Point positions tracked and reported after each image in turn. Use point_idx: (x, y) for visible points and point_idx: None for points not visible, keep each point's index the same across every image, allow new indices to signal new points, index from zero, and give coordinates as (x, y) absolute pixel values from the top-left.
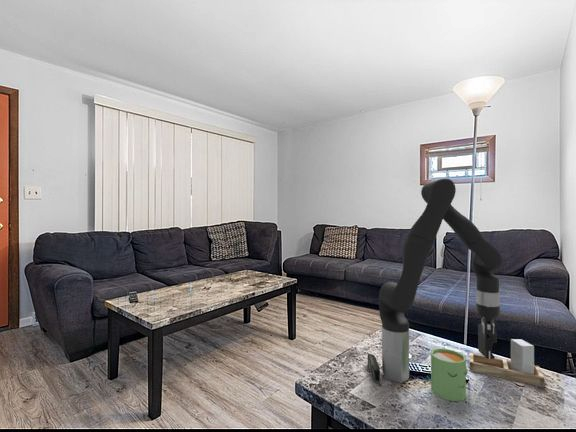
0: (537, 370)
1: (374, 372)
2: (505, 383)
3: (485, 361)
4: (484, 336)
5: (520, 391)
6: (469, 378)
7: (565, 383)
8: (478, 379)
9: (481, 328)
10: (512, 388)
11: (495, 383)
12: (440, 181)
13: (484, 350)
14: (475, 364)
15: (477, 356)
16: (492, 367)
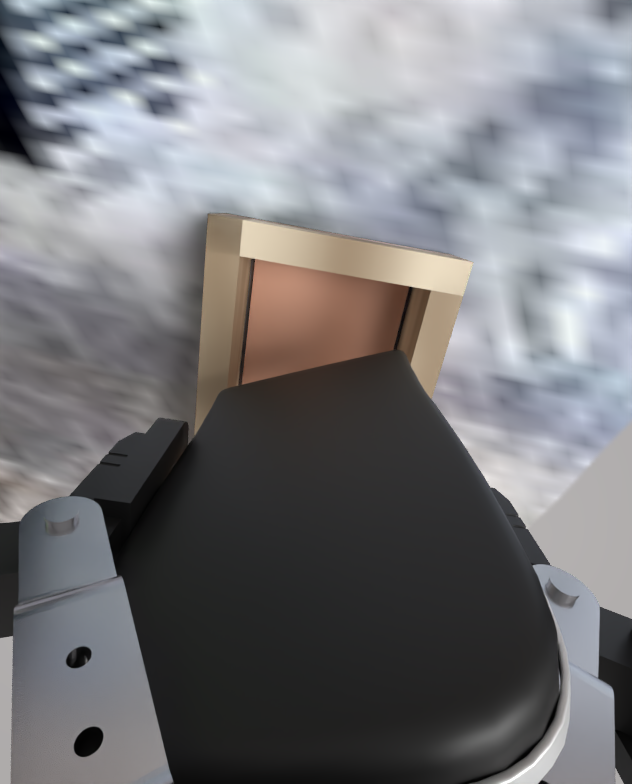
0: None
1: None
2: (134, 424)
3: None
4: (205, 532)
5: (72, 476)
6: (70, 182)
7: None
8: (94, 256)
9: (322, 625)
10: (86, 445)
11: (97, 364)
12: None
13: (254, 406)
14: (206, 267)
15: (417, 325)
16: (196, 398)
